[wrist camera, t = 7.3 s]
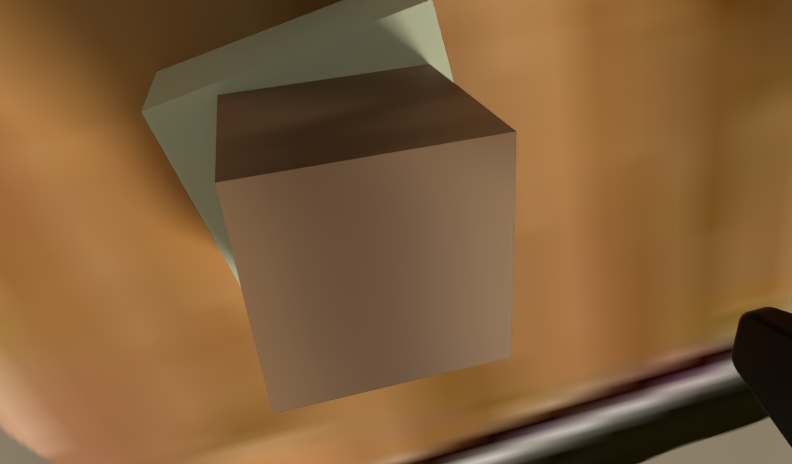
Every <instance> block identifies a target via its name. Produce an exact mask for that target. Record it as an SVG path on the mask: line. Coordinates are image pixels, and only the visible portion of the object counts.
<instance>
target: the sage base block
mask: <svg viewBox="0 0 792 464" xmlns="http://www.w3.org/2000/svg"><path fill="white" fill-rule="evenodd" d="M427 64H430V65H432V66H433V67H434V68H435V69H437V70H438V71H439V72H441V73H442V74H443V75H444V76H446V77H447V78H448V79H450V80H451V81H452V82H453V83H454V81H453V77H452V74H451V70H450V66H449V62H448V58H447V55H446V51H445V47H444V43H443V39H442V36H441V32H440V28H439V24H438V20H437V16H436V13H435V9H434V5H433V1H432V0H342V1H339V2H337V3H334V4H331V5H329V6H326V7H324V8H321V9H318V10H316V11H313V12H311V13H308V14H305V15H303V16H300V17H298V18H295V19H292V20H290V21H287V22H284V23H282V24H279V25H277V26H274V27H271V28H269V29H266V30H264V31H261V32H258V33H256V34H253V35H251V36H248V37H245V38H243V39H240V40H238V41H235V42H232V43H230V44H227V45H224V46H222V47H219V48H217V49H214V50H211V51H209V52H206V53H204V54H201V55H198V56H196V57H193V58H191V59H188V60H185V61H183V62H180V63H178V64H175V65H172V66H170V67H167V68H165V69H162V70H159V71H157V72H156V74H155V77H154V79H153V82H152V84H151V87H150V90H149V92H148V95H147V97H146V100H145V103H144V105H143V108H142V110H141V113H142V115H143V116H144V118H145V120H146V122H147V123H148V125H149V127H150V129H151V130H152V132H153V134H154V136H155V137H156V139H157V141H158V143H159V144H160V146H161V148H162V150H163V151H164V153H165V155H166V157H167V158H168V160H169V162H170V164H171V165H172V167H173V169H174V171H175V172H176V174H177V176H178V178H179V179H180V181H181V183H182V185H183V186H184V188H185V190H186V192H187V193H188V195H189V197H190V199H191V200H192V202H193V204H194V206H195V207H196V209H197V211H198V213H199V214H200V216H201V218H202V220H203V221H204V223H205V225H206V227H207V228H208V230H209V232H210V234H211V236H212V237H213V239H214V241H215V243H216V244H217V246H218V248H219V250H220V251H221V253H222V255H223V257H224V258H225V260H226V262H227V264H228V265H229V267H230V269H231V271H232V272H233V274H234V276H235V278H236V279H237V281H238V283H239V285H240V281H239V277H238V273H237V269H236V265H235V261H234V257H233V253H232V249H231V245H230V241H229V237H228V233H227V229H226V225H225V221H224V217H223V213H222V209H221V205H220V201H219V197H218V193H217V189H216V185H215V161H216V126H217V95H220V94H227V93H234V92H241V91H248V90H255V89H262V88H268V87H275V86H282V85H289V84H296V83H303V82H310V81H317V80H323V79H330V78H337V77H344V76H351V75H358V74H365V73H372V72H379V71H386V70H392V69H399V68H406V67H413V66H420V65H427ZM240 286H241V285H240Z"/></svg>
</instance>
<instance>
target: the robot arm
mask: <svg viewBox="0 0 792 464" xmlns="http://www.w3.org/2000/svg"><path fill="white" fill-rule="evenodd" d="M732 361H733V364H734V366H735V368H736V370H737V372H738V373H739V374H740V376H741V377H742V379H743V380H744V381H745V383H746V384H747V386H748V387H749V388H750V390H751V391H752V393H753V394H754V395H755V397H756V398H757V400H758V401H759V403H760V404H761V405H762V407H763V408H764V410H765V411H766V412H767V414H768V415H769V417H770V418H771V419H772V421H773V422H774V423H775V425H776V426H777V428H778V429H779V431H780V432H781V433H782V434H783V436H784V438H785V439H786V440H787V442H788V443H789V445H790V446H791V447H792V313H789V312H786V311H783V310H780V309H777V308H773V307H764V308H760V309H756V310H752V311H749V312H746V313H744V314H743V315H742V316H741V317H740V320H739V323H738V328H737V332H736V336H735V340H734V345H733V349H732Z"/></svg>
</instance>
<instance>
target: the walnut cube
mask: <svg viewBox="0 0 792 464" xmlns="http://www.w3.org/2000/svg"><path fill="white" fill-rule="evenodd" d="M515 167H516V131H515V130H514V129H512V128H511V127H510V126H509V125H507V124H506V123H505V122H503V121H502V120H501V119H500V118H498V117H497V116H496V115H494V114H493V113H492V112H491V111H489V110H488V109H487V108H485V107H484V106H483V105H482V104H480V103H479V102H478V101H477V100H475V99H474V98H473V97H471V96H470V95H469V94H468V93H466V92H465V91H464V90H462V89H461V88H460V87H459V86H457V85H456V84H455V83H453V82H452V81H451V80H450V79H448V78H447V77H446V76H444V75H443V74H442V73H441V72H439V71H438V70H437V69H435V68H434V67H433V66H432V65H430V64H427V65H420V66H413V67H406V68H399V69H392V70H386V71H379V72H372V73H365V74H358V75H351V76H344V77H337V78H330V79H323V80H317V81H310V82H303V83H296V84H289V85H282V86H275V87H268V88H262V89H255V90H248V91H241V92H234V93H227V94H220V95H217V126H216V161H215V185H216V189H217V193H218V197H219V201H220V205H221V209H222V213H223V217H224V221H225V225H226V229H227V233H228V237H229V241H230V245H231V249H232V253H233V257H234V261H235V265H236V269H237V273H238V277H239V281H240V285H241V289H242V293H243V297H244V301H245V305H246V309H247V313H248V317H249V321H250V325H251V329H252V333H253V337H254V341H255V345H256V349H257V353H258V357H259V361H260V365H261V369H262V373H263V377H264V381H265V385H266V389H267V393H268V397H269V401H270V405H271V409H272V413H273V414H276V413H280V412H284V411H288V410H292V409H296V408H301V407H305V406H309V405H313V404H317V403H321V402H325V401H330V400H334V399H338V398H342V397H346V396H350V395H355V394H359V393H363V392H367V391H371V390H375V389H380V388H384V387H388V386H392V385H396V384H400V383H405V382H409V381H413V380H417V379H421V378H425V377H430V376H434V375H438V374H442V373H446V372H450V371H455V370H459V369H463V368H467V367H471V366H475V365H480V364H484V363H488V362H492V361H496V360H500V359H505V358H509V357H511V346H512V301H513V256H514V212H515Z"/></svg>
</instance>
